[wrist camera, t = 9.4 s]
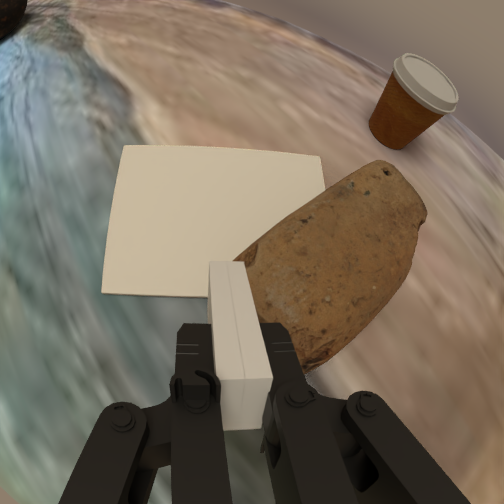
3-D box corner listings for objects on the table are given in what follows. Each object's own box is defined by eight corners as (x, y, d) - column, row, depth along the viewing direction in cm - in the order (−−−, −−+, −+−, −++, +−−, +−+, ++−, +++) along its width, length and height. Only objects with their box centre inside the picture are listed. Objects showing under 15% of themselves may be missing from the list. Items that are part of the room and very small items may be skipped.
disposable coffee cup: (345, 117, 38) (384, 54, 27) (381, 101, 41) (418, 48, 30) (393, 169, 37) (446, 113, 26) (423, 146, 40) (469, 98, 29)
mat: (318, 159, 35) (319, 156, 34) (335, 297, 30) (337, 295, 29) (124, 148, 31) (124, 145, 31) (103, 293, 26) (101, 292, 26)
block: (213, 257, 20) (383, 145, 27) (208, 284, 27) (351, 182, 34) (316, 386, 19) (453, 230, 26) (284, 380, 26) (410, 255, 33)
